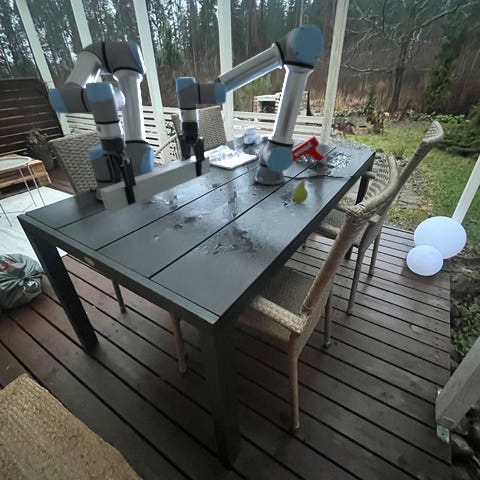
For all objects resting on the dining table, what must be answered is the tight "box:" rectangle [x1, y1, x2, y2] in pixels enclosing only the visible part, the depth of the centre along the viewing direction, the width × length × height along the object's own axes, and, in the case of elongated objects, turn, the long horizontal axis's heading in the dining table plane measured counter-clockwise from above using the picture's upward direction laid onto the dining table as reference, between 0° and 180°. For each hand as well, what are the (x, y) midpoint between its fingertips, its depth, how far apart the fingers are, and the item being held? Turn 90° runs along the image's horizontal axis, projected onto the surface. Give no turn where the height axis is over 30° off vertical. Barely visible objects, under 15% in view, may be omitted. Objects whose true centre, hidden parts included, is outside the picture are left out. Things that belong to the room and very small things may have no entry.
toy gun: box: [292, 135, 324, 163], centre depth 171 cm, size 18×4×15 cm
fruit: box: [291, 174, 311, 204], centre depth 118 cm, size 7×8×12 cm
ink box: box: [243, 125, 257, 145], centre depth 212 cm, size 8×5×12 cm, turn 135°
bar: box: [99, 156, 211, 213], centre depth 112 cm, size 51×5×8 cm, turn 143°
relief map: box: [190, 144, 258, 170], centre depth 177 cm, size 27×35×5 cm
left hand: (127, 201), depth 101 cm, fingers closed on bar, 5 cm apart
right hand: (194, 174), depth 125 cm, fingers closed on bar, 5 cm apart
